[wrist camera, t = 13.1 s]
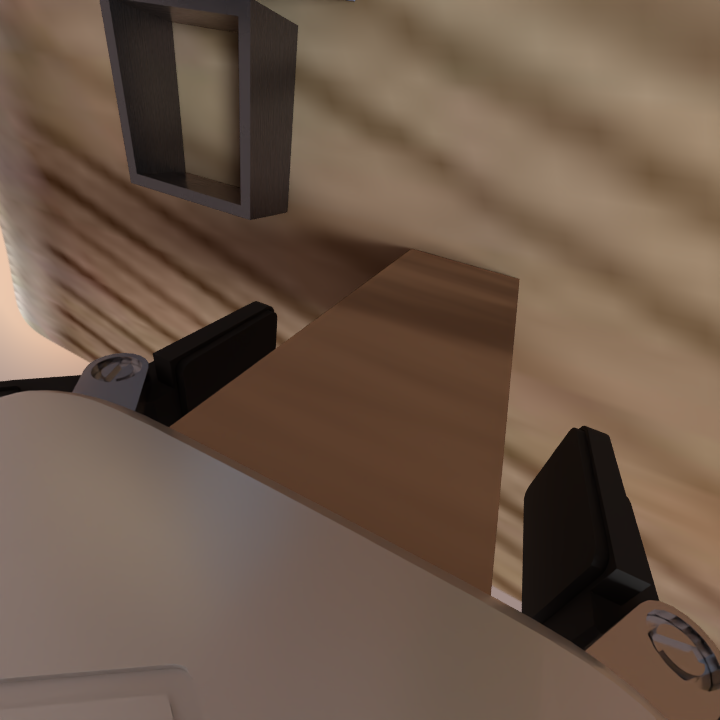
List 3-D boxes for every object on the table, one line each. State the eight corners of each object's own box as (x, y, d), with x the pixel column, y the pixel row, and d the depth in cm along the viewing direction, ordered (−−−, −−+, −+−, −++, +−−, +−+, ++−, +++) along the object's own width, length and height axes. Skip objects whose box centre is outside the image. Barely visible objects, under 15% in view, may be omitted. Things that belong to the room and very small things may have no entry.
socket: (161, 5, 16) (95, -23, 13) (297, 25, 14) (250, -3, 12) (179, 180, 20) (131, 182, 17) (287, 212, 18) (250, 219, 16)
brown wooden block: (411, 248, 16) (-8, 556, 4) (519, 279, 15) (461, 910, 2) (389, 338, 19) (106, 695, 6) (479, 371, 18) (351, 891, 5)
